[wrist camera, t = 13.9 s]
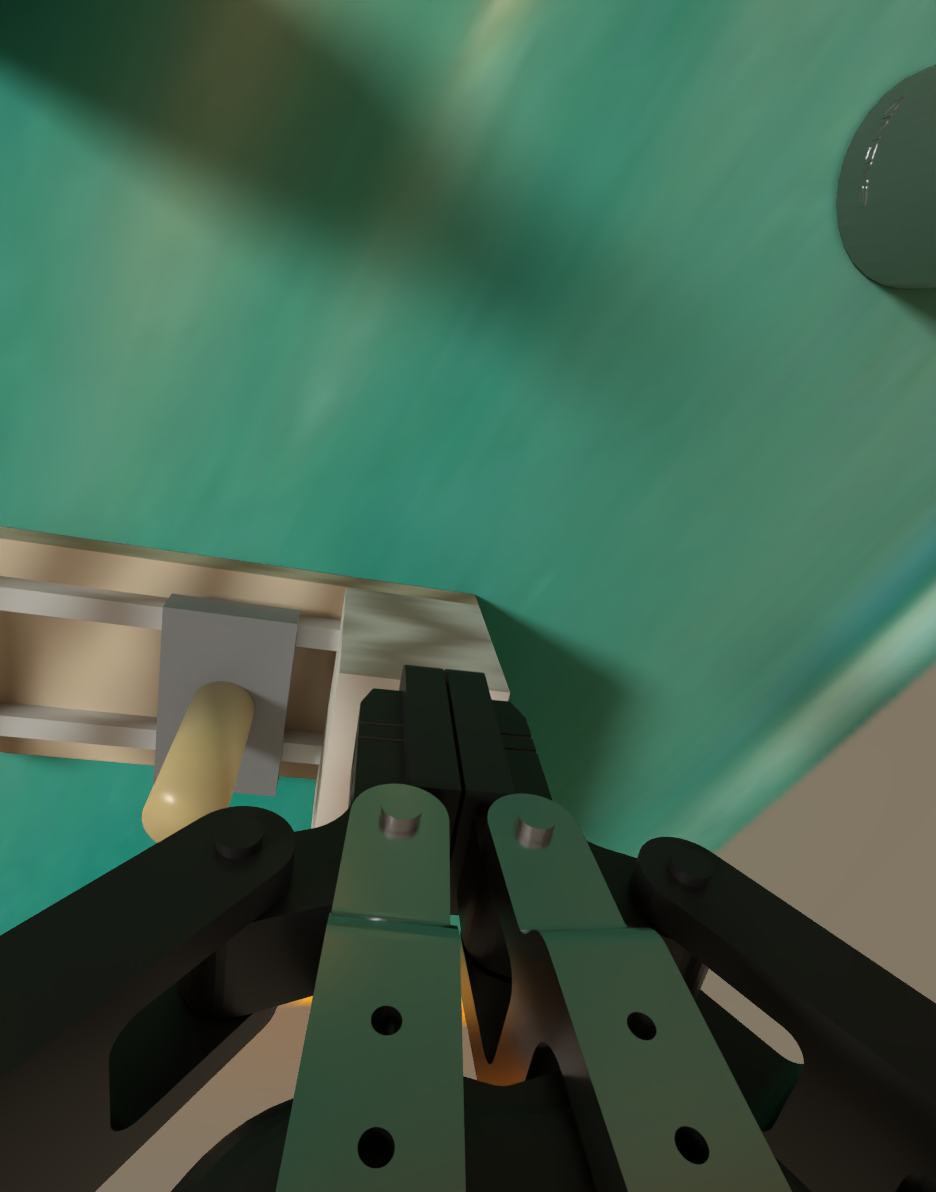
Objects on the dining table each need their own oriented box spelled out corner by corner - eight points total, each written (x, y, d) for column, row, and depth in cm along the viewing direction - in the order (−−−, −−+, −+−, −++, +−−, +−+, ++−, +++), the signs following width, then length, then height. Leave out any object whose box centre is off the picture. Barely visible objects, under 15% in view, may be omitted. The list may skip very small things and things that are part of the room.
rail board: (474, 594, 38) (510, 692, 29) (433, 776, 43) (452, 914, 33) (-102, 511, 33) (-295, 599, 23) (-82, 730, 37) (-237, 879, 28)
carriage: (300, 610, 34) (277, 716, 26) (278, 777, 38) (252, 920, 29) (171, 593, 33) (101, 698, 24) (161, 766, 37) (97, 913, 28)
